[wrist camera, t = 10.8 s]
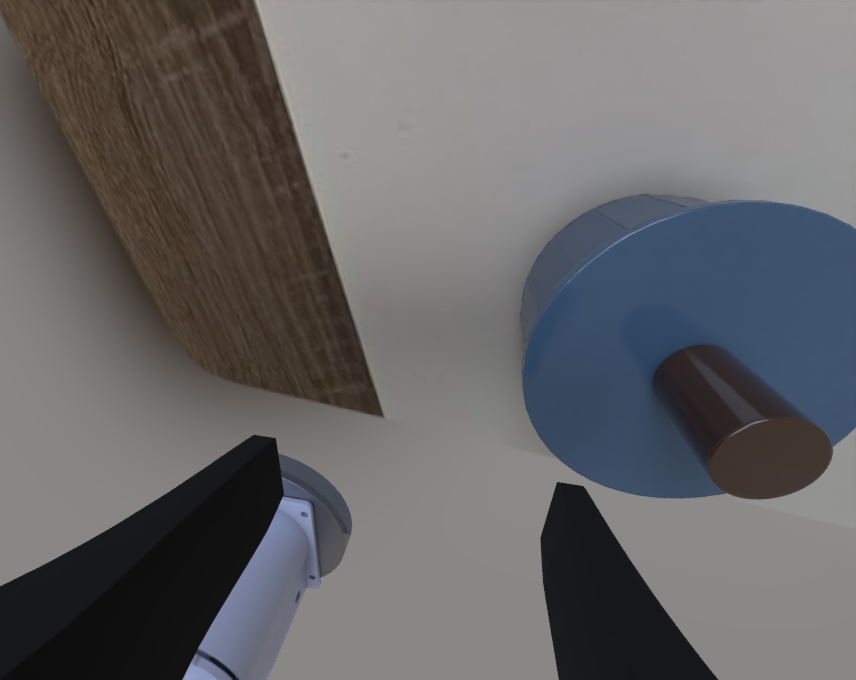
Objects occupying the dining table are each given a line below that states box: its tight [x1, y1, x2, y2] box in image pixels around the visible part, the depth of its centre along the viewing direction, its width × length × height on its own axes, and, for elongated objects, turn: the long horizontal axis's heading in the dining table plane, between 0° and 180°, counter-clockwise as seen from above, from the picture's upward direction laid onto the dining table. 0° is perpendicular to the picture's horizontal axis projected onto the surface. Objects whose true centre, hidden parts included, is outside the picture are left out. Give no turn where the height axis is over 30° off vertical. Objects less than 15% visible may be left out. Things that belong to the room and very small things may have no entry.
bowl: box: [520, 194, 710, 345], centre depth 15 cm, size 9×9×6 cm
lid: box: [522, 200, 856, 499], centre depth 11 cm, size 10×10×5 cm
